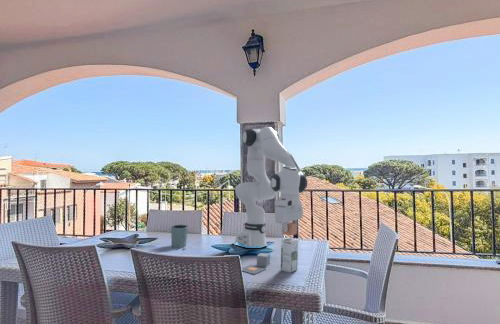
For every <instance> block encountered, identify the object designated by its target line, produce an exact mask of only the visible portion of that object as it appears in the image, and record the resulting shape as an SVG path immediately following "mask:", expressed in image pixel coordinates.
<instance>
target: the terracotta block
mask: <svg viewBox="0 0 500 324" xmlns="http://www.w3.org/2000/svg"><path fill="white" fill-rule="evenodd" d="M287 226H288V228H289V229H288V230H289V231H287V232H284V227H283V226H282V235H286V236H294V235H297V234H298V223H293V222H292V221H290V222H288V224H287Z"/></svg>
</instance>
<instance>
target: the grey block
mask: <svg viewBox="0 0 500 324" xmlns="http://www.w3.org/2000/svg"><path fill="white" fill-rule="evenodd" d="M270 264H271V254H270V253H264V252H260V253H257V255H256V266H258V267H262V268H267V267H268V266H270Z"/></svg>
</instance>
